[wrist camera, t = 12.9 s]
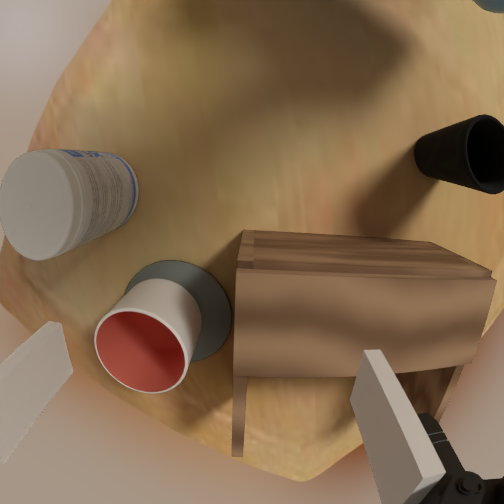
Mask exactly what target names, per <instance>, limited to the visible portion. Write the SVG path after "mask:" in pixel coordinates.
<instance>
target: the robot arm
mask: <svg viewBox="0 0 504 504" xmlns="http://www.w3.org/2000/svg"><path fill="white" fill-rule="evenodd" d="M473 1H474V2H475V3H476V4H477V5H478V6H480V7H481V8H482V9H484V10H487V11H490V12H493V13H504V0H473ZM72 373H73V368H72V365H71V361H70V357H69V354H68V350H67V346H66V342H65V338H64V333H63V329H62V324H61V323H57V322H53V321H48V322H47V323H46V324H44V325H43V326H42V327H41V328H40V329H39V330H37V331H36V332H35V333H34V334H33V335H32V336H31V337H30V338H28V339H27V340H26V341H25V342H24V343H23V344H21V345H20V346H19V347H18V348H17V349H16V350H15V351H14V352H13V353H11V354H10V355H9V356H8V357H7V358H6V359H5V360H4V361H3V362H2V363H1V364H0V461H1V462H3V463H4V464H5V463H6V461H7V460H8V458H9V457H10V455H11V454H12V452H13V451H14V450H15V448H16V447H17V446H18V444H19V443H20V441H21V440H22V438H23V437H24V436H25V434H26V433H27V432H28V430H29V429H30V428H31V426H32V425H33V424H34V422H35V421H36V420H37V418H38V417H39V415H40V414H41V413H42V412H43V410H44V409H45V407H46V406H47V405H48V404H49V402H50V401H51V400H52V398H53V397H54V396H55V395H56V393H57V392H58V391H59V389H60V388H61V387H62V386H63V384H64V383H65V382H66V381H67V379H68V378H69V377H70V376H71V374H72ZM350 402H351V405H352V408H353V411H354V414H355V417H356V421H357V424H358V427H359V430H360V433H361V436H362V439H363V442H364V446H365V449H366V452H367V455H368V458H369V462H370V465H371V468H372V472H373V475H374V478H375V482H376V485H377V488H378V492H379V496H380V499H381V502H382V504H504V476H503V478H501V479H488V480H483V479H481V477H480V476H479V475H477V474H475V473H473V472H469V471H465V470H464V468H463V466H462V465H461V463H460V461H459V459H458V457H457V455H456V453H455V452H454V450H453V448H452V446H451V445H450V442H449V441H447V437H446V436H445V434H444V433H443V430H442V428H441V427H440V425H439V423H438V421H437V420H436V419H435V418H433V417H432V416H431V415H430V414H429V413H427V412H426V413H420V414H416V412H415V410H414V408H413V407H412V405H411V403H410V401H409V399H408V397H407V396H406V394H405V392H404V390H403V388H402V386H401V385H400V383H399V381H398V379H397V378H396V376H395V374H394V372H393V371H392V369H391V367H390V365H389V364H388V362H387V360H386V358H385V357H384V355H383V353H382V351H381V350H363V354H362V358H361V362H360V365H359V369H358V373H357V376H356V380H355V383H354V387H353V390H352V393H351V397H350Z"/></svg>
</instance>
